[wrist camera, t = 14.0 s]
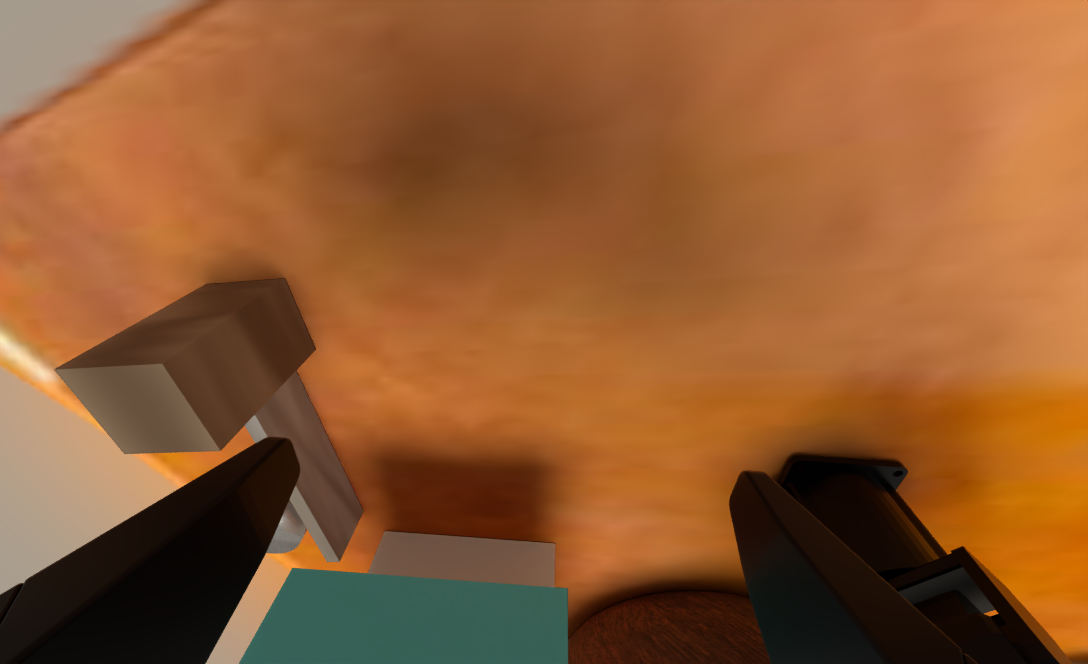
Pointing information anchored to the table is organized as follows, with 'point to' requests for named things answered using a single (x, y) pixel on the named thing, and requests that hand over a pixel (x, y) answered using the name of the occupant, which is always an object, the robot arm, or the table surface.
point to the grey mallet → (220, 391)
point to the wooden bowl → (672, 631)
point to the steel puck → (288, 531)
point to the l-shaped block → (422, 607)
